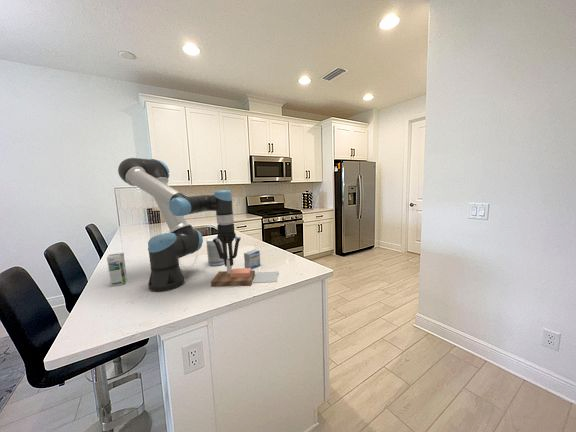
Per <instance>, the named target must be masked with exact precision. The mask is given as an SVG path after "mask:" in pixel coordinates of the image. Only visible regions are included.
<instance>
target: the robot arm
mask: <svg viewBox="0 0 576 432" xmlns="http://www.w3.org/2000/svg"><path fill="white" fill-rule="evenodd" d="M117 168H118V169H117V173H118V176H119V177H120V179H121V180H122V181H123V182H124V183H126V184H127V185H130V186H131V187H137V188H138V189H140V190H142V191H143V192H145V193H147V194H148V195H150V196H152V197H153V198H154V200H155V202H156V205H157V207H158V209H159V210H160V213H161V214H162V217H163V218H164V221H165V222H166V224H167V227H168V229H169V232H166V233H165V232H164V233H160V234H157V235H155V236H152V237H151V238H150V239H148V242H147V247H148V248H147V251H148V257H149V263H150V264H149V265H150V275H149V280H148V289H149V291H151V292H165V291H171V290H174V289H176V288H179V287H181V286H182V285H184V283H185V282H186V279H185V277H186V276H185V274H184V272H183V271H182V268H181V267H180V262H179V259H180V258H183V257H187V256H188V255H191V254H194V253H195V252H197V251H199V250H201V248H202V247H203V246H202V245H203V243H204V241H203V240H204V238H203V235H202V233H201V231H199V230H197V229H194V228H193V226H192V225H191V224H190V223H187V221H186V219H185V217H184V216H188V215H193V214H198V213H203V212H215V215H216V224H217V226H216V227H217V236H216V237H217V238H216V237H214V238H215V239H213V242H214V243H215V245H216V248H217V251H218V254H219V257H220V259H224V267H226V271H227V273H230V272H231V271H232V269H233V268H232V267H233V266H234V259H236V257H237V256H238V250H239V245H240V244H239V243H240V241H241V239H242V238H241V236H237V235H236V232H235V224H234V220H235V219H234V211H233V197H232V196H233V195H232V191H231V190H229V189H222V190H221V189H220V190H215V191H214V192H213V193H214V194H200V195H192V196H191V195H190V196H187V195H185V194H184V193H181V192H180V191H178V190H176V189H175V188H174V187H172V186H169V178H170V174H169V173H170V169H169V167H168V165H167V164H166V163H165V162H164V161H162V160H159V159H155V158H152V159H150V158H149V159H148V158H138V157H129V158H125V159H123V160H122V161H121V162H120V163H119V165H118V167H117ZM219 240H220V241H221V242H222V246H223V252H222V249H221V246H220V243H219ZM233 241H235V244H234V250H233Z"/></svg>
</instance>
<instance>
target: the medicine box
mask: <svg viewBox="0 0 576 432" xmlns="http://www.w3.org/2000/svg"><path fill="white" fill-rule="evenodd" d="M243 258H244V268H251V270H254V269H255V268H257V267H259V266H261V253H260V250H259V249H254V250H253V249H252V250H250V251H246V252H244V253H243Z"/></svg>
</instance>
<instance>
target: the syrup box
mask: <svg viewBox="0 0 576 432" xmlns="http://www.w3.org/2000/svg"><path fill="white" fill-rule="evenodd" d="M106 260H107V266H108V267H107V268H108V273H109V281H110V286H111V287H115V286H116V287H118V286H122V285H126V283H127V281H128V275H127V269H126V268H127V266H126V261H125V254H124V252H118V253H110V254H108V255H107V257H106Z"/></svg>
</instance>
